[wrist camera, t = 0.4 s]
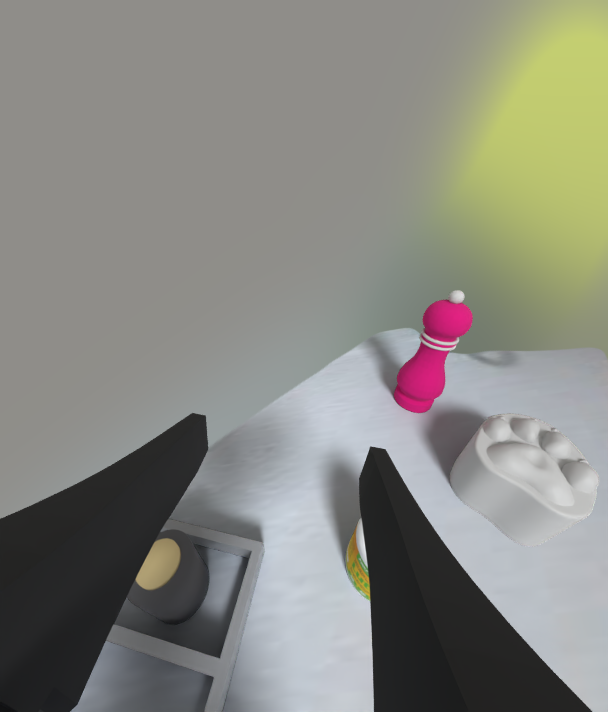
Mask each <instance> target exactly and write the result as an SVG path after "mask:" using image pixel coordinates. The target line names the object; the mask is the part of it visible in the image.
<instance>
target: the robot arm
mask: <svg viewBox="0 0 608 712" xmlns="http://www.w3.org/2000/svg"><path fill="white" fill-rule="evenodd" d="M207 451H208V440H207V427H206V416H205V415H199V414H194V413H192V414H190V415H189V416H187V417H186V418H185V419H183V420H181V421H180V422H178V423H177V424H175V425H174V426H173V427H171V428H169V429H168V430H167V431H165V432H163V433H162V434H160V435H159V436H157V437H156V438H155V439H153V440H151V441H150V442H148V443H147V444H145V445H144V446H142V447H141V448H139V449H137V450H136V451H134V452H133V453H131V454H129V455H127V456H126V457H124V458H122V459H121V460H119V461H117V462H116V463H114V464H112V465H111V466H109V467H107V468H105V469H104V470H102V471H100V472H98V473H96V474H94V475H92V476H91V477H89V478H87V479H85V480H83V481H81V482H79V483H77V484H75V485H73V486H71V487H69V488H67V489H65V490H63V491H61V492H59V493H57V494H54V495H53V496H51V497H48V498H46V499H44V500H42V501H40V502H38V503H35V504H33V505H31V506H29V507H27V508H24V509H22V510H20V511H18V512H15V513H13V514H11V515H8V516H6V517H4V518H1V519H0V712H70V711H71V710H72V709H73V708H74V707H75V706H76V705H77V704H78V702H79V699H80V697H81V695H82V693H83V690H84V688H85V686H86V683H87V681H88V679H89V677H90V675H91V672H92V670H93V668H94V666H95V663H96V661H97V659H98V657H99V655H100V652H101V650H102V648H103V646H104V643H105V641H106V639H107V637H108V635H109V633H110V631H111V629H112V626H113V624H114V622H115V620H116V618H117V616H118V614H119V612H120V610H121V607H122V605H123V603H124V601H125V599H126V597H127V595H128V593H129V591H130V589H131V587H132V585H133V583H134V581H135V579H136V577H137V575H138V573H139V571H140V569H141V567H142V565H143V563H144V561H145V559H146V557H147V555H148V554H149V552H150V550H151V548H152V546H153V544H154V542H155V540H156V538H157V537H158V535H159V533H160V531H161V530H162V528H163V526H164V525H165V523H166V521H167V520H168V518H169V517H170V515H171V513H172V512H173V510H174V509H175V507H176V505H177V504H178V502H179V501H180V499H181V498H182V496H183V494H184V493H185V491H186V490H187V488H188V486H189V485H190V483H191V481H192V480H193V478H194V477H195V475H196V473H197V472H198V470H199V468H200V466H201V463H202V461H203V459H204V457H205V455H206V453H207ZM359 494H360V510H361V518H362V526H363V534H364V542H365V550H366V557H367V565H368V574H369V584H370V603H371V624H372V650H373V686H374V712H592V711H591V710H590V709H589V708H588V707H587V706H586V705H585V704H584V703H583V702H582V701H581V700H580V699H579V697H578V696H577V695H576V694H575V693H574V692H573V691H572V690H571V689H570V688H569V687H568V686H567V685H566V684H565V683H564V682H563V681H562V680H561V679H560V678H559V677H558V676H557V675H556V674H555V673H554V672H553V671H552V670H551V669H550V668H549V667H548V665H547V664H546V663H545V662H544V661H543V660H542V659H541V658H540V657H539V656H538V655H537V654H536V652H535V651H534V650H533V649H532V648H531V647H530V646H529V645H528V644H527V643H526V642H525V640H524V639H523V638H522V637H521V636H520V635H519V634H518V633H517V632H516V631H515V629H514V628H513V627H512V626H511V625H510V624H509V623H508V621H507V620H506V619H505V618H504V617H503V616H502V614H501V613H500V612H499V611H498V610H497V609H496V607H495V606H494V605H493V604H492V603H491V602H490V600H489V599H488V598H487V597H486V596H485V594H484V593H483V592H482V591H481V590H480V589H479V587H478V586H477V585H476V584H475V583H474V581H473V580H472V579H471V578H470V576H469V575H468V574H467V573H466V571H465V570H464V569H463V568H462V566H461V565H460V564H459V562H458V561H457V560H456V558H455V557H454V556H453V555H452V553H451V552H450V551H449V549H448V548H447V547H446V545H445V544H444V542H443V541H442V540H441V538H440V537H439V535H438V534H437V533H436V531H435V530H434V528H433V527H432V525H431V524H430V522H429V521H428V519H427V518H426V516H425V515H424V513H423V512H422V510H421V509H420V507H419V506H418V504H417V502H416V501H415V499H414V498H413V496H412V494H411V493H410V491H409V490H408V488H407V486H406V485H405V483H404V481H403V479H402V478H401V476H400V474H399V473H398V471H397V469H396V467H395V466H394V464H393V462H392V460H391V458H390V457H389V455H388V453H387V451H386V450H385V449H381V448H376V447H370V449H369V452H368V455H367V458H366V461H365V464H364V467H363V469H362V472H361V475H360V478H359Z"/></svg>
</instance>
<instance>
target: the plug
mask: <svg viewBox="0 0 608 712" xmlns="http://www.w3.org/2000/svg"><path fill="white" fill-rule="evenodd" d="M208 586H209V573H208V569H207V567H206V565H205V563H204V561H203V560H202V558H201V557H200V555H199V553H198V552H197V550H196V548H195V547H194V545H193V544H192V542H191V540H190V539H189V537H188V536H187V535H186V534H185V533H184V532H182V531H180V530H175V529H171V530H165V531H162V532H160V533H159V535H158V537H157V538H156V540H155V542H154V544H153V546H152V548H151V550H150V552H149V554H148V555H147V557H146V559H145V561H144V563H143V565H142V567H141V569H140V571H139V573H138V575H137V577H136V579H135V581H134V583H133V585H132V587H131V589H130V591H129V593H128V595H127V597H128V599H129V600H130V602H131V603H133V604H134V605H136V606H137V607H139V608H141V609H142V610H144V611H146V612H148V613H149V614H151V615H153V616H154V617H156V618H158V619H159V620H161V621H163V622H164V623H167V624H170V625H175V624H179V623H182V622H184V621H186V620H187V619H189V618H190V617H191V616H192V615H193V614H194V613H195V612H196V611H197V610H198V609H199V607H200V606H201V604H202V602H203V601H204V598H205V596H206V593H207V590H208Z"/></svg>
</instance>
